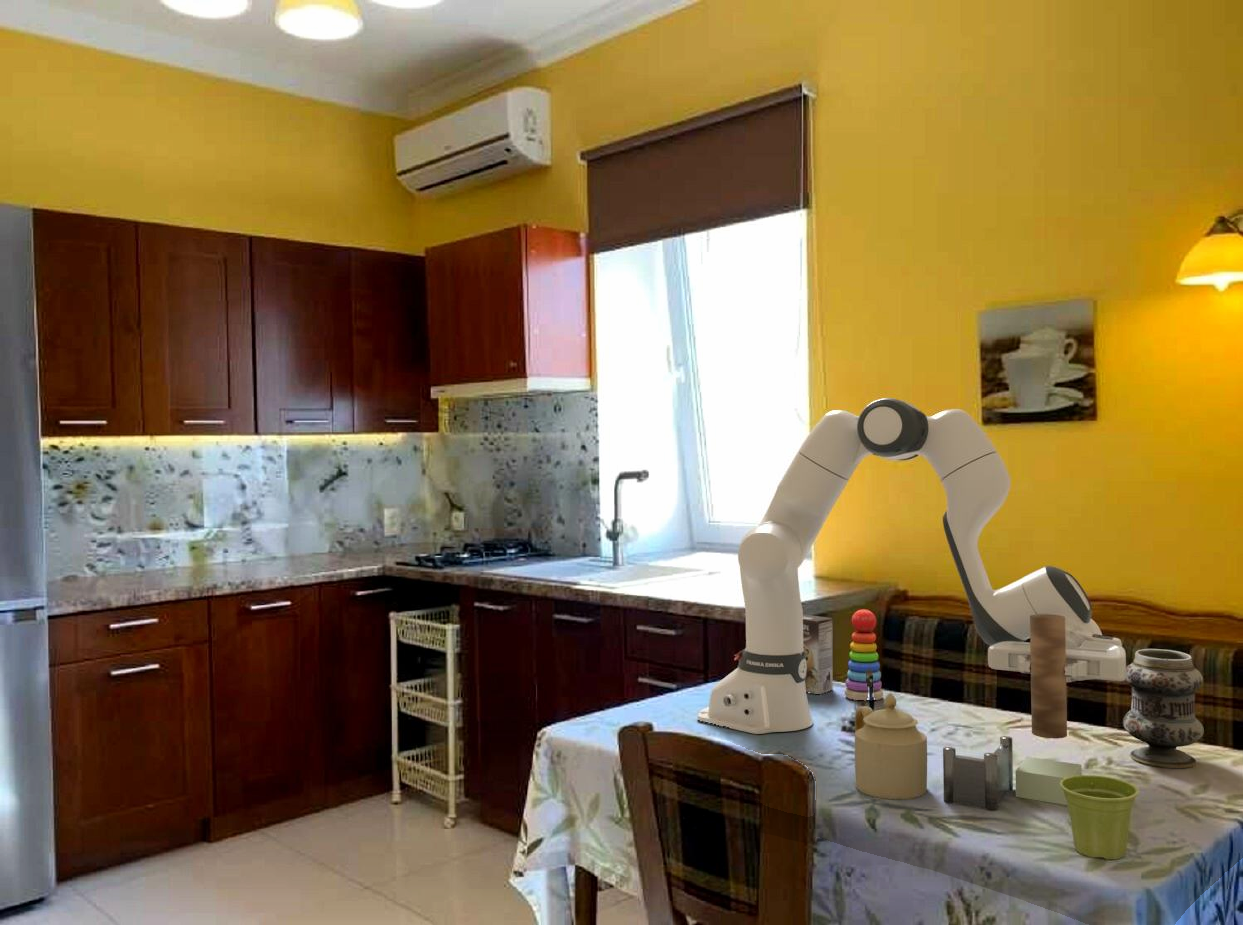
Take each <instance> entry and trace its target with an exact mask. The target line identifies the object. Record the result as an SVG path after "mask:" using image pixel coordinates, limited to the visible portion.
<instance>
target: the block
mask: <svg viewBox="0 0 1243 925" xmlns="http://www.w3.org/2000/svg"><path fill="white" fill-rule="evenodd" d="M1082 768H1083V767H1082V764H1079V763H1074V762H1066V761H1059V760H1058V761H1057V760H1052V759H1045V758H1037V757H1032V756H1031V757H1030V756H1026V757H1025V758H1024V760H1023V761H1022V763H1021V764H1020V765H1018V767H1017V768H1016V770H1015V797H1016V798H1021V799H1025V800H1026V799H1027V800H1034V801H1039V802H1040V801H1041V802H1045V803H1046V802H1047V803H1051V804H1057V805H1063V806H1068V804H1067V799H1066V798H1065V796H1064V790H1063V789H1062V788H1061V787H1060V781H1061V780H1062V779H1064V778H1066V777H1070V776H1077V775H1082V771H1083V770H1082Z"/></svg>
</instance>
